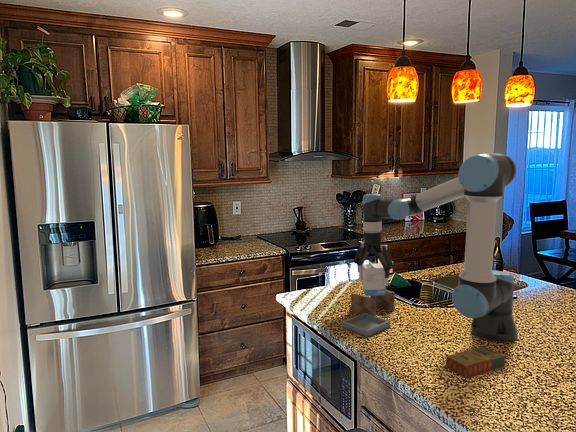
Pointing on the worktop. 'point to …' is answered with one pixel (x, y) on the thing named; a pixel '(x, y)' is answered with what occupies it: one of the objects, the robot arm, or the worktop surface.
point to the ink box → (373, 279)
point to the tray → (366, 324)
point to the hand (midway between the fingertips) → (373, 282)
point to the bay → (372, 303)
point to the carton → (475, 362)
